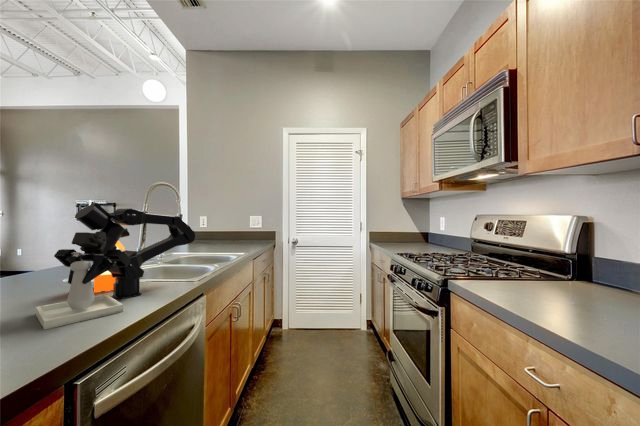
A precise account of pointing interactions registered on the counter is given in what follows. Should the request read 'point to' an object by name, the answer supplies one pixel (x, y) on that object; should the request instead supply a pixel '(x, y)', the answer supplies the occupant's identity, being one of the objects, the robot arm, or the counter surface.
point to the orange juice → (106, 277)
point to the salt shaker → (80, 287)
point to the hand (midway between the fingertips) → (76, 283)
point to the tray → (76, 312)
